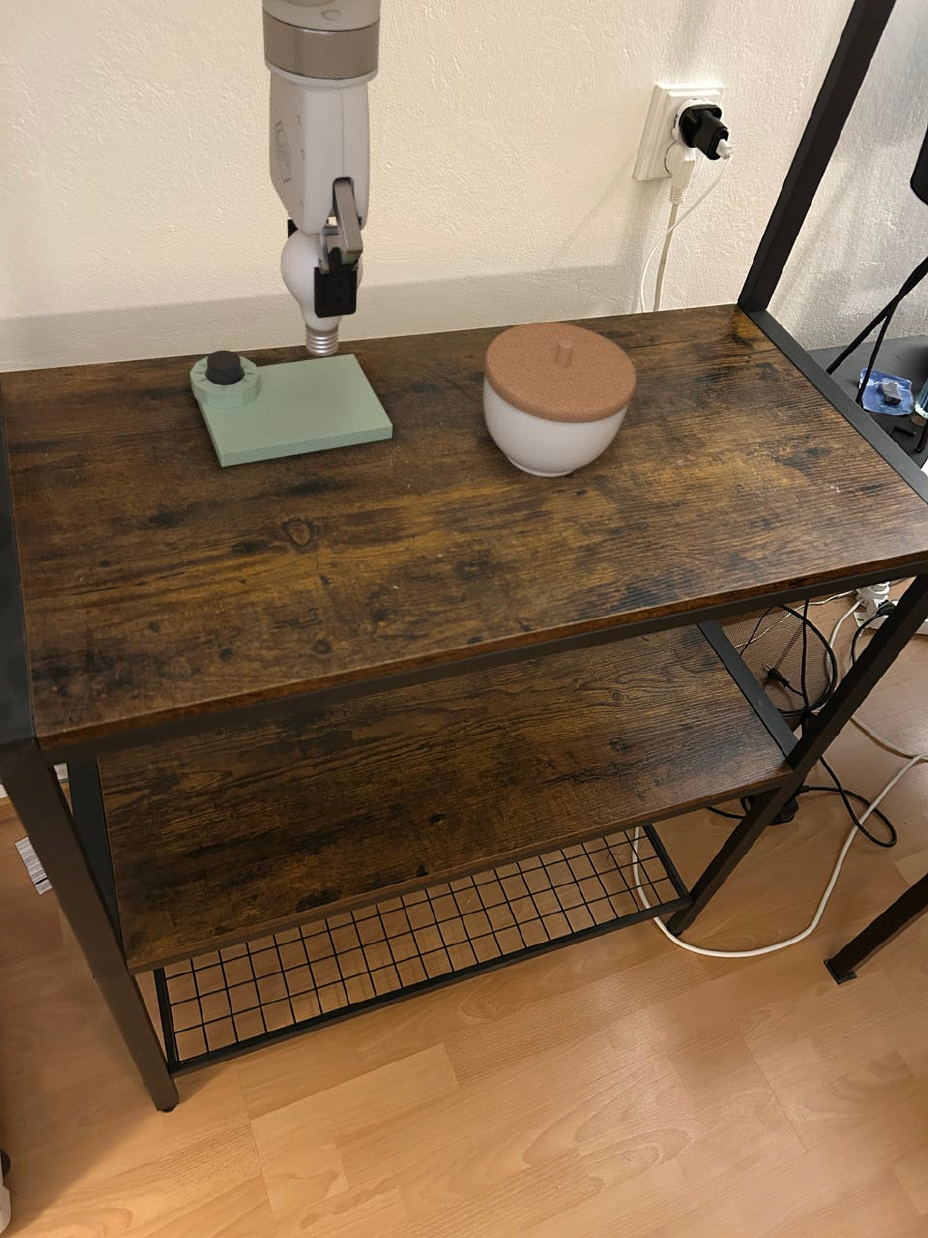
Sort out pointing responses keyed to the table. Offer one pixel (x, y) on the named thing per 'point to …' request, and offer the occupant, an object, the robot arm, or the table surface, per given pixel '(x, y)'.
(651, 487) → the table surface
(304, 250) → the lightbulb
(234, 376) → the tare button
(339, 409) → the green dial base
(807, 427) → the table surface
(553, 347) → the lidded bowl
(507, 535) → the table surface
